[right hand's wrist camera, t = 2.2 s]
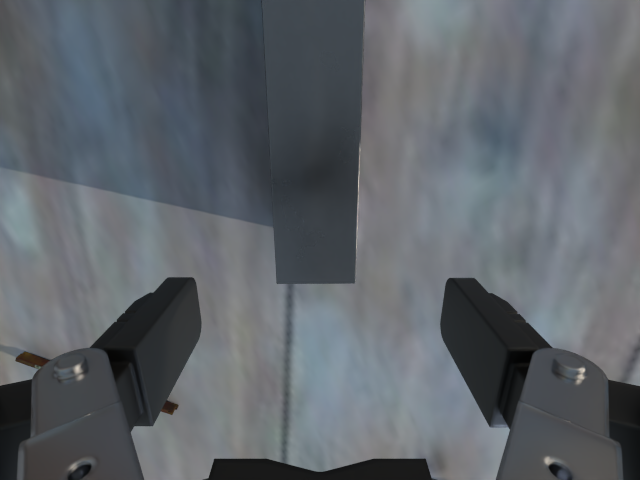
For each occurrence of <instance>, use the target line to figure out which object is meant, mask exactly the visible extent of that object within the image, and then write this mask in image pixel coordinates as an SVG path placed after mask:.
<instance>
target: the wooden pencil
mask: <svg viewBox="0 0 640 480" xmlns="http://www.w3.org/2000/svg"><path fill="white" fill-rule="evenodd" d="M15 361H17V362H20V363H22V364H25V365H28V366H31V367H34V368H37V369H40V368H41V367H42V366H43V365H45V364H46V363H47V362H49V361H50V360H47V359H44V358H42V357H39V356H36V355H33V354H31V353H28V352H24V353H23V354H20V355H19V356H18V357H17V358H16V360H15ZM177 408H178V405H177V404H174V403H171V402H168V401H166V402H165V404H164V406H163V408H162V410H161V411H162V412H165V413H168V414H171V415H172V414H173V412H174V410H175V409H176V410H177Z"/></svg>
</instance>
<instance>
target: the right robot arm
mask: <svg viewBox="0 0 640 480" xmlns="http://www.w3.org/2000/svg"><path fill="white" fill-rule="evenodd" d="M440 326H441V334H442V338H443V341H444V343H445V345H446V346H447V348H448V350H449V352H450V354H451V356H452V358H453V359H454V361H455V363H456V365H457V367H458V369H459V371H460V372H461V374H462V376H463V378H464V380H465V382H466V384H467V386H468V387H469V389H470V391H471V393H472V395H473V397H474V399H475V400H476V402H477V404H478V406H479V408H480V410H481V412H482V413H483V415H484V417H485V419H486V421H487V423H488V425H489V426H490V427H509V429H510V432H509V436H508V439H507V443H506V446H505V450H504V453H503V457H502V460H501V463H500V467H499V470H498V474H497V477H496V480H640V386H636V385H631V384H626V383H621V382H616V381H611V380H608V379H607V377H606V375H605V373H604V372H603V371H602V370H601V369H600V368H599V367H598V366H597V365H595V364H594V363H593V362H591V361H589V360H588V359H586V358H584V357H582V356H580V355H578V354H575V353H572V352H569V351H566V350H562V349H556V348H552V347H551V346H550V345H549V344H548V343H547V342H546V341H545V340H544V339H543V338H542V337H541V336H540V335H539V334H538V333H537V332H536V331H535V330H534V329H533V327H532V326H531V325H530V324H529V323H526V320H525V319H524V318H523V317H522V316H521V315H520V314H517V311H516V310H515V309H514V308H513V307H512V306H511V305H510V304H509V303H508V302H507V301H505V300H503V299H501V298H500V297H498V296H496V295H494V294H493V293H488V292H487V291H486V290H485V289H484V288H483V287H482V286H481V284H480V283H479V282H478V281H477V280H476V279H475V278H449V279H448V280H447V282H446V286H445V293H444V300H443V307H442V314H441V323H440ZM200 333H201V315H200V308H199V301H198V293H197V286H196V282H195V280H194V278H192V277H169V278H167V279H166V280H165V281H164V282H163V283H162V284H161V285H160V286H159V287H158V288H157V290H156V291H155V292H154V293H149V294H147V295H145V296H143V297H142V298H140V299H138V300H136V301H135V302H134V303H133V304H132V305H131V306H130V307H129V308H128V309H127V310H126V311H125V313H123V314H122V315H121V316H120V317H119V318H118V319H117V322H114V323H113V324H112V325H111V326H110V327H109V328H108V329H107V330H106V332H105V333H104V334H103V335H102V336H101V337H100V338H99V339H98V340H97V341H96V342H95V343H94V344H93V345H92V346H91V347H90V348H84V349H78V350H74V351H71V352H68V353H65V354H62V355H60V356H58V357H56V358H54V359H52V360H51V361H49V362H47V363H46V364H45V365H43V366H42V367H41V368H40V369H39V370H38V371H37V372H36V373H35V375H34V377H33V379H31V380H26V381H21V382H16V383H11V384H7V385H2V386H0V480H144V477H143V474H142V470H141V467H140V463H139V460H138V457H137V453H136V450H135V446H134V443H133V439H132V436H131V431H132V429H133V427H134V426H153V425H154V423H155V421H156V419H157V417H158V415H159V413H160V411H161V410H162V408H163V406H164V404H165V402H166V400H167V398H168V396H169V395H170V393H171V391H172V389H173V387H174V385H175V383H176V381H177V379H178V378H179V376H180V374H181V372H182V370H183V368H184V366H185V364H186V363H187V361H188V359H189V357H190V355H191V353H192V351H193V349H194V347H195V346H196V344H197V342H198V340H199V337H200ZM204 480H436V479H433V478H431V475H430V472H429V469H428V465H427V462H426V459H371V460H367V461H363V462H360V463H356V464H352V465H348V466H344V467H340V468H337V469H333V470H329V471H325V472H315V471H311V470H307V469H303V468H300V467H296V466H292V465H288V464H284V463H280V462H277V461H273V460H269V459H214V462H213V465H212V469H211V472H210V475H209V478H207V479H204Z"/></svg>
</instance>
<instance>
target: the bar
mask: <svg viewBox="0 0 640 480" xmlns="http://www.w3.org/2000/svg"><path fill="white" fill-rule="evenodd" d="M262 17H263V35H264V54H265V73H266V92H267V110H268V129H269V148H270V166H271V185H272V204H273V222H274V241H275V260H276V279H277V284H326V283H356V259H357V229H358V199H359V169H360V139H361V109H362V80H363V50H364V20H365V0H262Z"/></svg>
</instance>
